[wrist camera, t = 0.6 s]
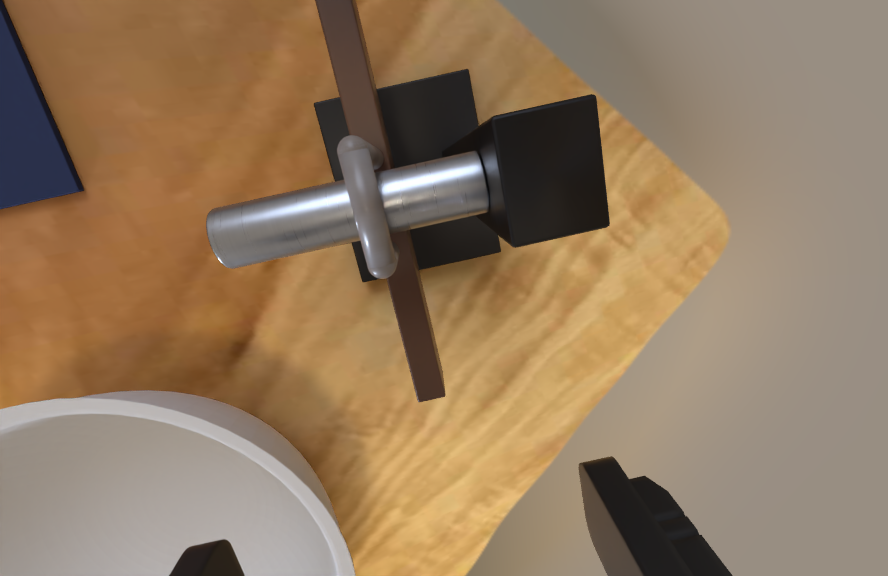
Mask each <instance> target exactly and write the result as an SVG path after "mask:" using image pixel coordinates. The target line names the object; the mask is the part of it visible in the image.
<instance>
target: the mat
mask: <svg viewBox="0 0 888 576" xmlns="http://www.w3.org/2000/svg"><path fill="white" fill-rule="evenodd" d="M80 191H84V189H83V186H82V184H81V182H80V179H79V177H78V175H77V173H76V170H75V168H74V166H73V163H72V161H71V159H70V156H69V154H68V152H67V149H66V147H65V145H64V142H63V140H62V138H61V136H60V133H59V131H58V129H57V126H56V124H55V122H54V119H53V117H52V115H51V112H50V110H49V108H48V105H47V103H46V101H45V99H44V96H43V94H42V92H41V89H40V87H39V85H38V82H37V80H36V78H35V75H34V73H33V71H32V69H31V66H30V64H29V62H28V59H27V57H26V55H25V52H24V50H23V48H22V45H21V43H20V41H19V38H18V36H17V34H16V32H15V29H14V27H13V25H12V22H11V20H10V18H9V15H8V13H7V11H6V8H5V6H4V4H3V1H2V0H0V209H3V208H7V207H12V206H16V205H21V204H26V203H30V202H35V201H39V200H44V199H48V198H53V197H57V196H62V195H66V194H71V193H75V192H80Z"/></svg>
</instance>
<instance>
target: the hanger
mask: <svg viewBox="0 0 888 576" xmlns="http://www.w3.org/2000/svg"><path fill="white" fill-rule="evenodd" d="M315 1H316V5H317V9H318V13H319V17H320V21H321V25H322V29H323V32H324V36H325V40H326V44H327V48H328V52H329V56H330V60H331V64H332V68H333V72H334V75H335V79H336V83H337V87H338V91H339V95H340V99H341V103H342V107H343V111H344V114H345V118H346V122H347V126H348V130H349V134H350V136H346V137H344V138H343V139H342V140H341V141H340V142H339V144H338V148H337V154H338V158H339V162H340V165H341V169H342V173H343V177H344V180H345V184H346V188H347V192H348V195H349V199H350V203H351V207H352V211H353V214H354V218H355V222H356V226H357V229H358V233H359V237H360V241H361V244H362V248H363V252H364V256H365V259H366V263H367V267H368V270H369V272H370V273H371V274H372V275H373V276H374V277H376V278H380V279H385V278H387V282H388V286H389V290H390V294H391V298H392V302H393V306H394V310H395V314H396V318H397V321H398V325H399V329H400V333H401V337H402V341H403V345H404V349H405V353H406V357H407V361H408V364H409V368H410V372H411V376H412V380H413V384H414V388H415V392H416V396H417V400H418V402H423V401H427V400H432V399H436V398H441V397H445V387H444V378H443V371H442V366H441V362H440V358H439V354H438V349H437V345H436V341H435V337H434V332H433V328H432V324H431V320H430V315H429V311H428V307H427V302H426V298H425V294H424V290H423V285H422V281H421V277H420V273H419V268H418V264H417V260H416V256H415V251H414V247H413V243H412V238H411V234H410V230H406V231H401V232H397V233H392V234H390V233H389V229H388V225H387V221H386V217H385V213H384V209H383V205H382V201H381V197H380V193H379V189H378V185H377V180H376V176H375V173H376V172H381V171H386V170H390V169H395V166H394V162H393V157H392V153H391V149H390V145H389V140H388V136H387V132H386V128H385V123H384V119H383V115H382V111H381V106H380V102H379V98H378V93H377V89H376V85H375V81H374V76H373V72H372V68H371V64H370V59H369V55H368V51H367V47H366V42H365V38H364V34H363V30H362V25H361V21H360V17H359V12H358V8H357V4H356V0H315Z"/></svg>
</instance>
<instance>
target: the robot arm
mask: <svg viewBox="0 0 888 576" xmlns="http://www.w3.org/2000/svg"><path fill="white" fill-rule="evenodd" d="M579 475H580V482H581V488H582V496H583V503H584V510H585V516H586V521H587V525H588V529H589V533H590V536H591V539H592V542H593V544H594V547H595V549H596V551H597V553H598V555H599V558H600V560H601V562H602V564H603V566H604V569H605V571H606V573H607V575H608V576H732V574H731V573H730V572H729V571H728V569H727V568H726V567H725V565H724V564H723V563H722V561H721V560H720V559H719V558H718V556H717V555H716V554H715V552H714V551H713V550H712V549H711V547H710V546H709V544H708V543H707V542H706V541H705V539H704V538H703V537H702V535H699V533H698V531H697V529H696V528H695V526H694V525H693V524H692V522H691V521H690V520H689V518H688V517H687V516H685V515H684V512H683V511H682V509H681V508H680V507H679V505H678V504H677V503H676V502H675V500H674V499H673V498H672V496H671V495H670V494H669V492H668V491H667V490H665V489H664V488H662V487H661V486H659V485H657V484H656V483H655V482H653V481H652V480H650V479H649V478H647V477H646V476H642V477H637V478H633V479H628V477H627V476H626V474H625V473H624V471H623V470H622V468H621V467H620V465H619V464H618V462H617V461H616V460H615V458H613V457H606V458H602V459H597V460H593V461H588V462H583V463H580V464H579ZM169 576H245V575H244V572H243V570H242V568H241V566H240V563H239V561H238V559H237V557H236V554H235V552H234V550H233V547H232V545H231V543H230V542H229V541H228V540H226V539H222V540H217V541H213V542H208V543H203V544H199V545H194V546H191V547H188V548H187V549H186V550H185V551H184V552H183V554H182V555H181V557H180V558H179V560H178V562H177V563H176V565H175V567H174V568H173V570H172V572H171V573H170V575H169Z"/></svg>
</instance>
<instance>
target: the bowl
mask: <svg viewBox="0 0 888 576" xmlns="http://www.w3.org/2000/svg"><path fill="white" fill-rule="evenodd" d="M222 539H226V540H228V541H229V542H230V543H231V545H232V547H233V550H234V552H235V554H236V557H237V559H238V561H239V563H240V566H241V568H242V570H243V572H244V575H245V576H356V575H355V570H354V566H353V561H352V558H351V555H350V552H349V550H348V547H347V544H346V541H345V539H344V537H343V535H342V534H341V532H340V528H339V524H338V521H337V518H336V515H335V513H334V510H333V507H332V504H331V502H330V499H329V497H328V495H327V493H326V491H325V489H324V487H323V485H322V483H321V481H320V480H319V478H318V477H317V475H316V473H315V472H314V470H313V469H312V467H311V466H310V464H309V463H308V462H307V461H306V459H305V458H304V457H303V456H302V454H301V453H300V452H299V451H298V450H297V449H296V448H295V447H294V446H293V445H292V444H291V443H290V442H289V441H288V440H287V439H286V438H285V437H284V436H282V435H281V434H280V433H279V432H277V431H276V430H275V429H274V428H272V427H271V426H269V425H268V424H266V423H265V422H263V421H262V420H260V419H259V418H257V417H255V416H253V415H251V414H249V413H247V412H246V411H243V410H241V409H239V408H236V407H234V406H232V405H229V404H226V403H223V402H220V401H217V400H214V399H210V398H206V397H201V396H197V395H193V394H186V393H179V392H170V391H151V390H143V391H119V392H111V393H104V394H96V395H89V396H83V397H79V398H64V399H52V400H45V401H37V402H30V403H26V404H22V405H17V406H13V407H9V408H4V409H1V410H0V576H169V575H170V573H171V572H172V570H173V568H174V567H175V565H176V563H177V562H178V560H179V558H180V557H181V555H182V554H183V552H184V551H185V550H186V549H187V548H188V547H191V546H194V545H199V544H203V543H208V542H213V541H217V540H222Z"/></svg>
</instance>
